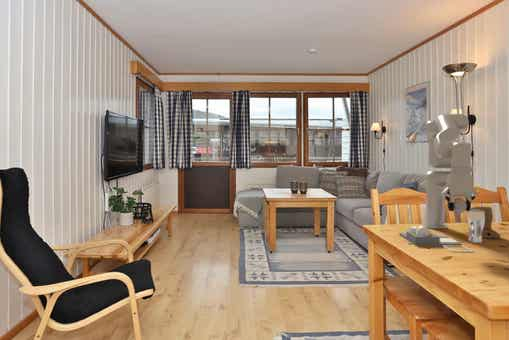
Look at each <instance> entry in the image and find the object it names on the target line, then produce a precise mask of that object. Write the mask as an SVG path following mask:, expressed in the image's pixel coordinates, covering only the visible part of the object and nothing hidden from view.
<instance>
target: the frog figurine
mask: <svg viewBox="0 0 509 340" xmlns="http://www.w3.org/2000/svg"><path fill="white" fill-rule="evenodd" d="M465 201H466V200H464V199H463V198H461V197H457V198H456V197H454V199H453V201H452V202H453V203H454V207H453V212H455V213H456V214H463V213H465V211H466V208H467V204H466V202H465Z"/></svg>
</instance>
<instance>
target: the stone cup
mask: <svg viewBox="0 0 509 340" xmlns="http://www.w3.org/2000/svg"><path fill="white" fill-rule="evenodd" d="M470 210H483V211H485V223H484V228H483V232H482V238H484V239H498V238H501V236H502V235H501V234H500V233H498V232H497V231H496V230H494V229H492V222H493V216H494V215H493V208H492V207H491V206H486V205H485V206H473V207H471V208H470Z"/></svg>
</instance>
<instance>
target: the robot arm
mask: <svg viewBox="0 0 509 340" xmlns="http://www.w3.org/2000/svg"><path fill="white" fill-rule="evenodd" d="M469 122H470V121H469V117H468V116H467V115H466V114H464V113H445V114H441V115H439V116H438V117H437V118H436V119H432V120H428V121H427V122H426V124H425V135H426V138H427V140H428V165H429V167H430V168H433V169H449V170H430V171H427V172H426V173H425V175H424V181H425V193H426V194H425V218H424V219H425V221H424V222H423V223H422V225H421V226H425V227H427V228H428V229H433V230H435V229H436V230H442V229H447V228H448V225H447V224H445V211H446V210H445V208H446V205H445V204H446V202H447V209H448V211H449V212H454V209H453V207H454V203H453V200H454V198H456V197H463V198H464V199H465V200H464V201H465V202H466V204H467V208H466V210H465V211H466V212H469V211H470V210H471V208H472V207H471V205H472V202H473V201H474V200H475V199H476V197H478V196H479V192H477V190H475V189H474V180H473V175H472V173H471V172H473V171H474V168H473V167H471V165H472V164H471V163H472V144H471V143H470V142H466V141H455V140H457V139H458V138H459V136H460V135H461V134H464V132H466V131H467V130H468V128H469ZM442 189H444V190H443V191H442Z"/></svg>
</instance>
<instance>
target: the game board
mask: <svg viewBox="0 0 509 340" xmlns="http://www.w3.org/2000/svg"><path fill="white" fill-rule="evenodd" d="M418 227H419V226H417V225H416V226H415V225H412V226H410V225H409V226H408V230H406V232H399V234H398V235H399V236H400V237H401V238H404V239H405V240H407V241H408V242H410V243H411V245H414V246H415V247H417V246H418V247H443V248H445V249H447V250H448V251H450V252H452V253H475V251H474V250H472V249H470V248H469V247H466V246H465V245H463V243H461V242H459V241H458V240H455V239H453V238H452V237H449V236H447V235H446V234H443V233H442V232H431V231H430V236H418V235H416V229H417V228H418ZM449 247H462V248H464V249H465V250H453V249H451V248H449Z"/></svg>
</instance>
